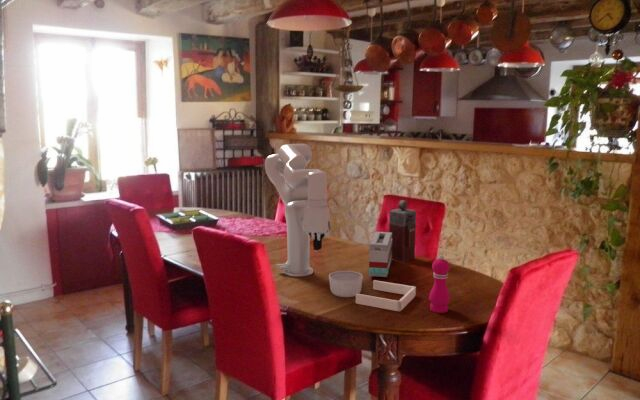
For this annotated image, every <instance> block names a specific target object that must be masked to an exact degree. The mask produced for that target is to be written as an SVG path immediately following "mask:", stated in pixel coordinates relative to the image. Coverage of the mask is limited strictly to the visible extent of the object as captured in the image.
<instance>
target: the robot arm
mask: <svg viewBox="0 0 640 400" xmlns="http://www.w3.org/2000/svg"><path fill="white" fill-rule="evenodd" d="M312 155H313V153H312V149H311V148H310V146H309V145H308V144H306V143H288V144H284V145H282V146H280V148H279V149H278V152H277V153H273V154H270V155H268V156H267V157H266V158H265V159H264V169H265V173H266V175H267V178H268V179H269V181H270V182H271V184H272V185H274V187H275V189H276V191H277V193H278V195H279V197H280V200H281V201H282V203H283V204H284V205H285V206H284V217H285V222H286V238H287V241H286V242H287V244H286V245H287V246H286V247H287V248H286V249H287V253H286V254H287V257H286V258H287V260H286V261H285V262H283V263H276V269H279V270H283V274H285V275H286V276H290V277H295V278H296V277H297V278H299V277H307V276H311V275H313V273H314V269H313V268H312V267H310V238H311V240H312V247H313V250H314V251H319V250H321V249H322V247H323V241H322V240H323V239H324V238H325V237H330V236H331V232H330V231H331V227H332V226H331V225H332V224H331V222H332V221H331V214H330V208H329V206H328V176H327V175H328V174H327V173H326V172H325V171H322V170H321V169H318V168H306V167H307V165H308V164H309V163H310V162H311V159H312V157H313V156H312Z"/></svg>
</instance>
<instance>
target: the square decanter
mask: <svg viewBox="0 0 640 400" xmlns="http://www.w3.org/2000/svg"><path fill="white" fill-rule="evenodd" d="M388 221H389V222H388V223H389V224H388V225H389V226H388V227H389V228H388V229H389V230H388V232H391V233H392V258H391V260H392V259H393V260H392V261H396V260H397V261H396V262H401V263H406V262H409V261H412V260H415V259H414V258H415V256H416V227H417V225H416V224H417V223H416V222H417V211H416V210H415V209H409V208H408V201H407V200H403V199H401V200H399V202H398V208H395V209H391V210H389V219H388ZM411 259H412V260H411Z"/></svg>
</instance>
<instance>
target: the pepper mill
mask: <svg viewBox="0 0 640 400" xmlns="http://www.w3.org/2000/svg"><path fill="white" fill-rule="evenodd" d="M431 268H432V271H433V275H432V276H433V279H434V283H433V286H432V288H431V290H430V291H429V292H430V293H429V294H428V295H429V296H428V299H429V301H430V304H429V305H430V306H429V309H430V311H432V312H434V313H437V314H443V313H447V312H448V311H449V305H448V304H449V303H450V302H451V295H450V292H449V289H448V286H447V279H448V278H449V277H448V276H449V273H448V272H449V271H450V269H451V267H450V263H449V262H448V260H447V259H445V256H444V255H443V254H440V255H438V258H437V259H435V260H434V261H433V262H432V265H431Z"/></svg>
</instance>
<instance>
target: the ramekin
mask: <svg viewBox="0 0 640 400" xmlns="http://www.w3.org/2000/svg"><path fill="white" fill-rule="evenodd" d="M363 279H364V275H363V274H362V273H360V272H358V271H353V270H337V271H333V272H330V273H329V274H328V281H329V288H330V292H331V293H332V295H333V296H336V297H341V298H352V297H356V294H357V293H358V294H361V291H362V285H363Z"/></svg>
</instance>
